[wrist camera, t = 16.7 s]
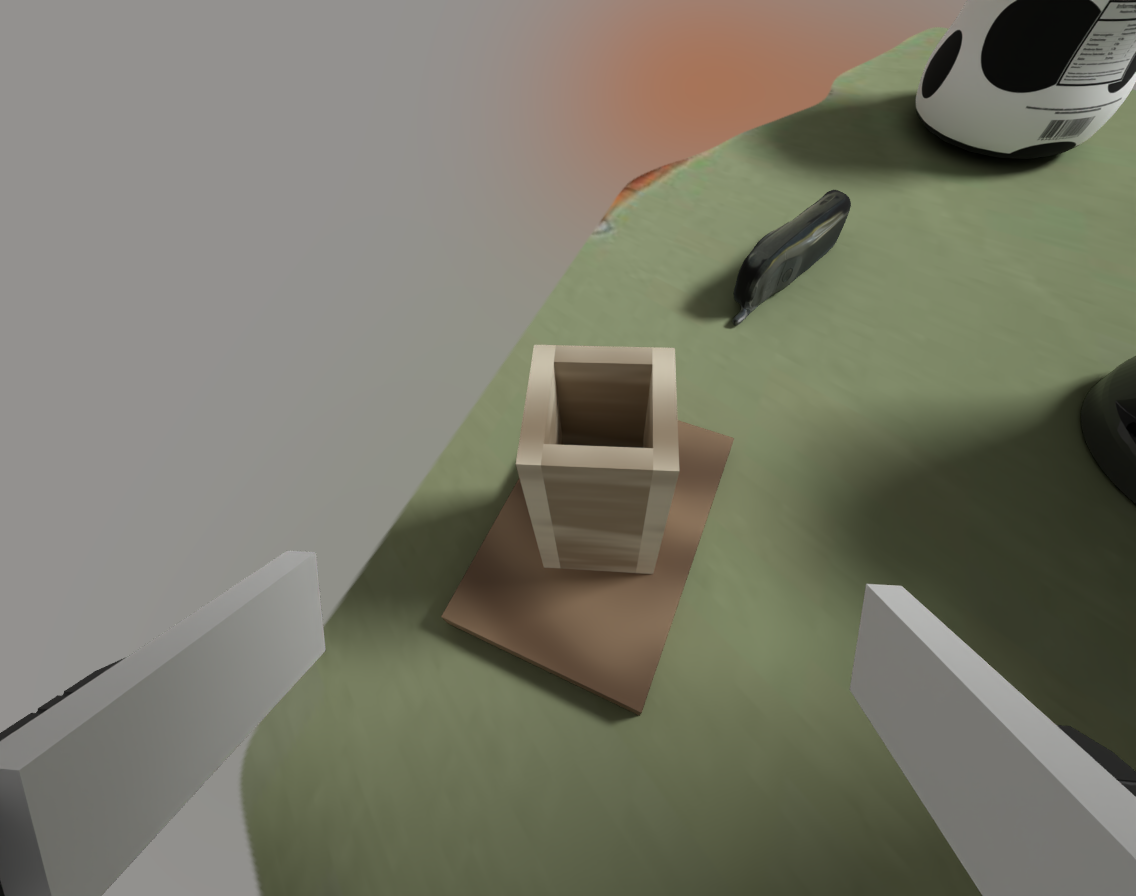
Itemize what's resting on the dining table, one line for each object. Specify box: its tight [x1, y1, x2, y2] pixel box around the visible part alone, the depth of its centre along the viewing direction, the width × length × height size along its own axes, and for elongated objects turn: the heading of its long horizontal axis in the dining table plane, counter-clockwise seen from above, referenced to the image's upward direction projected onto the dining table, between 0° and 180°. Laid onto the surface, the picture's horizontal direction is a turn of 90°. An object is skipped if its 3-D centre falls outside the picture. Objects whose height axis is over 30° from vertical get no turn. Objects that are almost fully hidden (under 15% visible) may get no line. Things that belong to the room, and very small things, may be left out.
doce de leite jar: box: [916, 0, 1136, 159], centre depth 48 cm, size 17×17×18 cm
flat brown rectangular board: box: [441, 421, 734, 716], centre depth 30 cm, size 18×12×9 cm, turn 156°
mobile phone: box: [732, 190, 851, 325], centre depth 43 cm, size 5×3×15 cm
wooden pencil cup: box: [516, 345, 679, 574], centre depth 27 cm, size 6×6×12 cm
